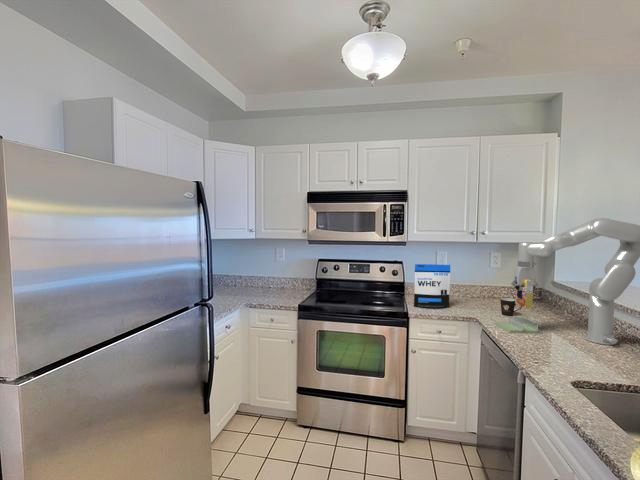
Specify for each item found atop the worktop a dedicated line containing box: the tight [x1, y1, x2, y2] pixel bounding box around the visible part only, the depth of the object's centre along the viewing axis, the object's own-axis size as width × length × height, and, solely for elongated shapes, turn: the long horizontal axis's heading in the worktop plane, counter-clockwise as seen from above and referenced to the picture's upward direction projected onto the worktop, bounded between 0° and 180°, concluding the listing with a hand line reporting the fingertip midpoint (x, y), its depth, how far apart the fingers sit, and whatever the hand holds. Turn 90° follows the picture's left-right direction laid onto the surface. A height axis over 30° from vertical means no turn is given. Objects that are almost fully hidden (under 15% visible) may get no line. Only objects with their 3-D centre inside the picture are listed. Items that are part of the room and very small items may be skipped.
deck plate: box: [493, 320, 543, 334], centre depth 185 cm, size 16×17×2 cm
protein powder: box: [413, 263, 452, 310], centre depth 230 cm, size 10×24×30 cm, turn 88°
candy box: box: [515, 280, 534, 309], centre depth 182 cm, size 9×4×15 cm, turn 1°
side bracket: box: [508, 316, 539, 331], centre depth 183 cm, size 13×8×4 cm, turn 0°
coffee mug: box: [499, 297, 523, 317], centre depth 212 cm, size 12×9×10 cm
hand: (524, 297), depth 182 cm, fingers closed on candy box, 4 cm apart
